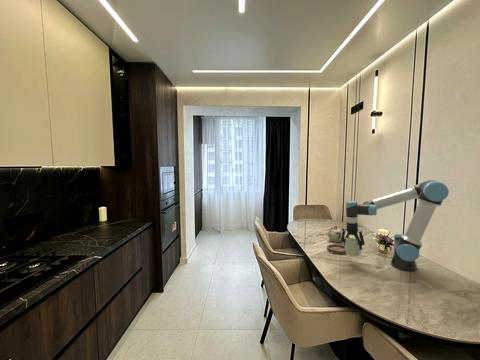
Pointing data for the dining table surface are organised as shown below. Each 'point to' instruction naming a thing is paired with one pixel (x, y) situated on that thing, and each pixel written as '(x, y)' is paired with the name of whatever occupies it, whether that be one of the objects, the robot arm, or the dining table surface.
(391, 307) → the dining table surface
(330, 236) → the sugar bowl
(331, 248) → the trivet
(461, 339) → the dining table surface
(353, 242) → the grey-green tapered block
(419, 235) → the robot arm
